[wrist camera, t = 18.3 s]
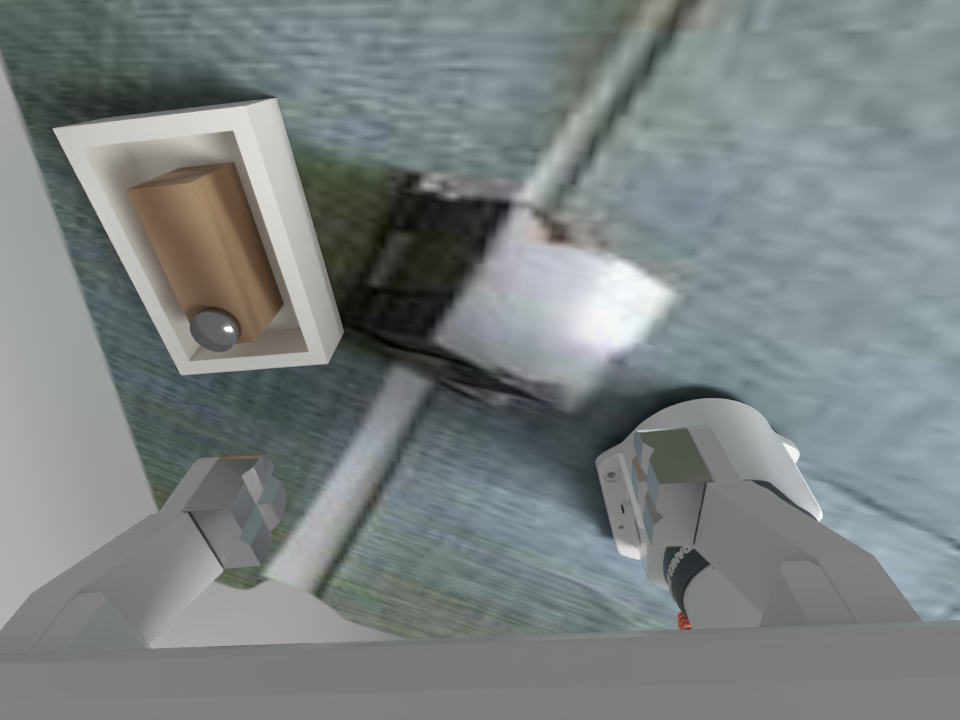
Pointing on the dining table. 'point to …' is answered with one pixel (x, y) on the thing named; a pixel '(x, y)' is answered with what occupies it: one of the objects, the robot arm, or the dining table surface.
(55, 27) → the dining table surface
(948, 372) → the dining table surface
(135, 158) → the bin
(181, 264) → the strut
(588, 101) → the dining table surface
